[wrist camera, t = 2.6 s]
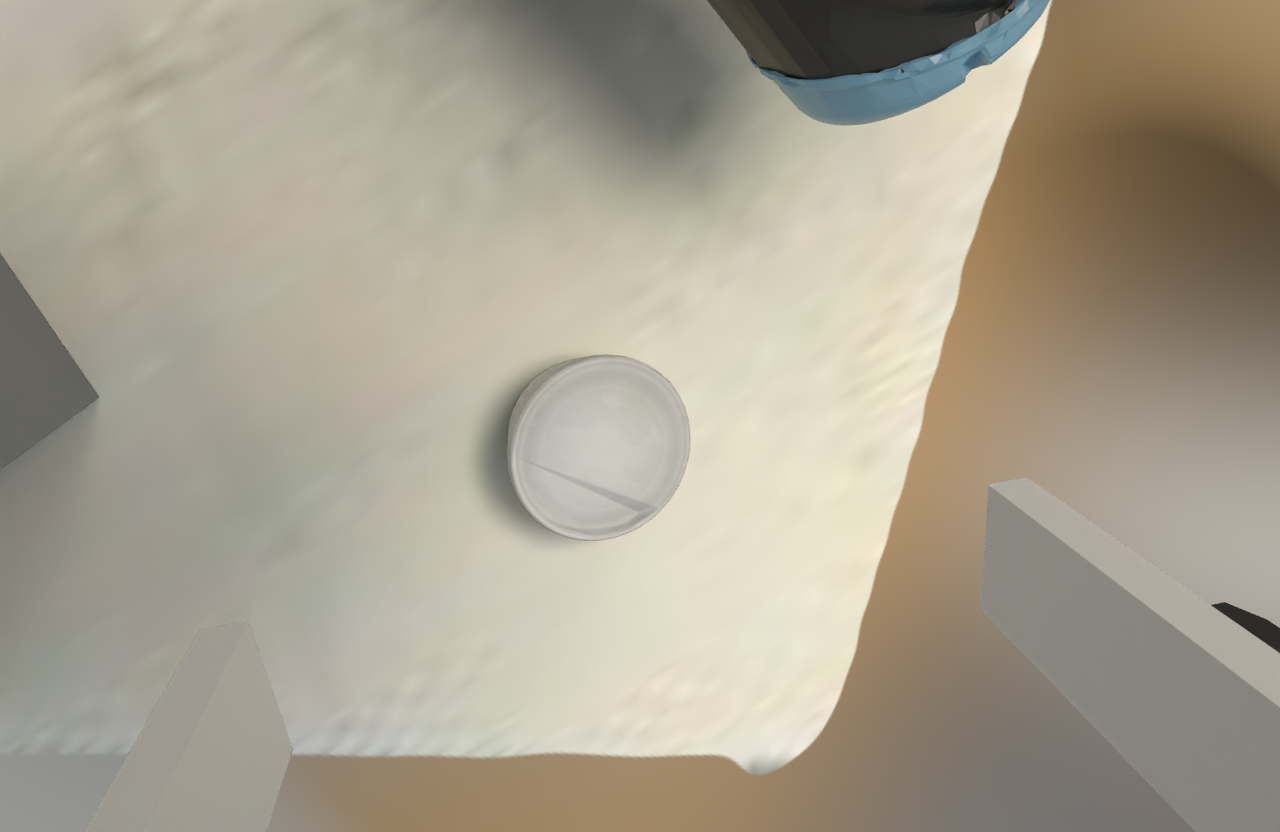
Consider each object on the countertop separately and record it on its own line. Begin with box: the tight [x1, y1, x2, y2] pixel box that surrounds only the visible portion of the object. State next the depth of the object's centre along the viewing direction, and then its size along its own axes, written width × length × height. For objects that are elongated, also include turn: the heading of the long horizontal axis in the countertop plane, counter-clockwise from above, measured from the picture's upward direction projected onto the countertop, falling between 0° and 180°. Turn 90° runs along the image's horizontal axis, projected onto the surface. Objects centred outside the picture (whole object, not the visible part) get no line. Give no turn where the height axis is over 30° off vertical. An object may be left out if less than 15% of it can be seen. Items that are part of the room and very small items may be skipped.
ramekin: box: [507, 355, 690, 541], centre depth 49 cm, size 11×11×5 cm
